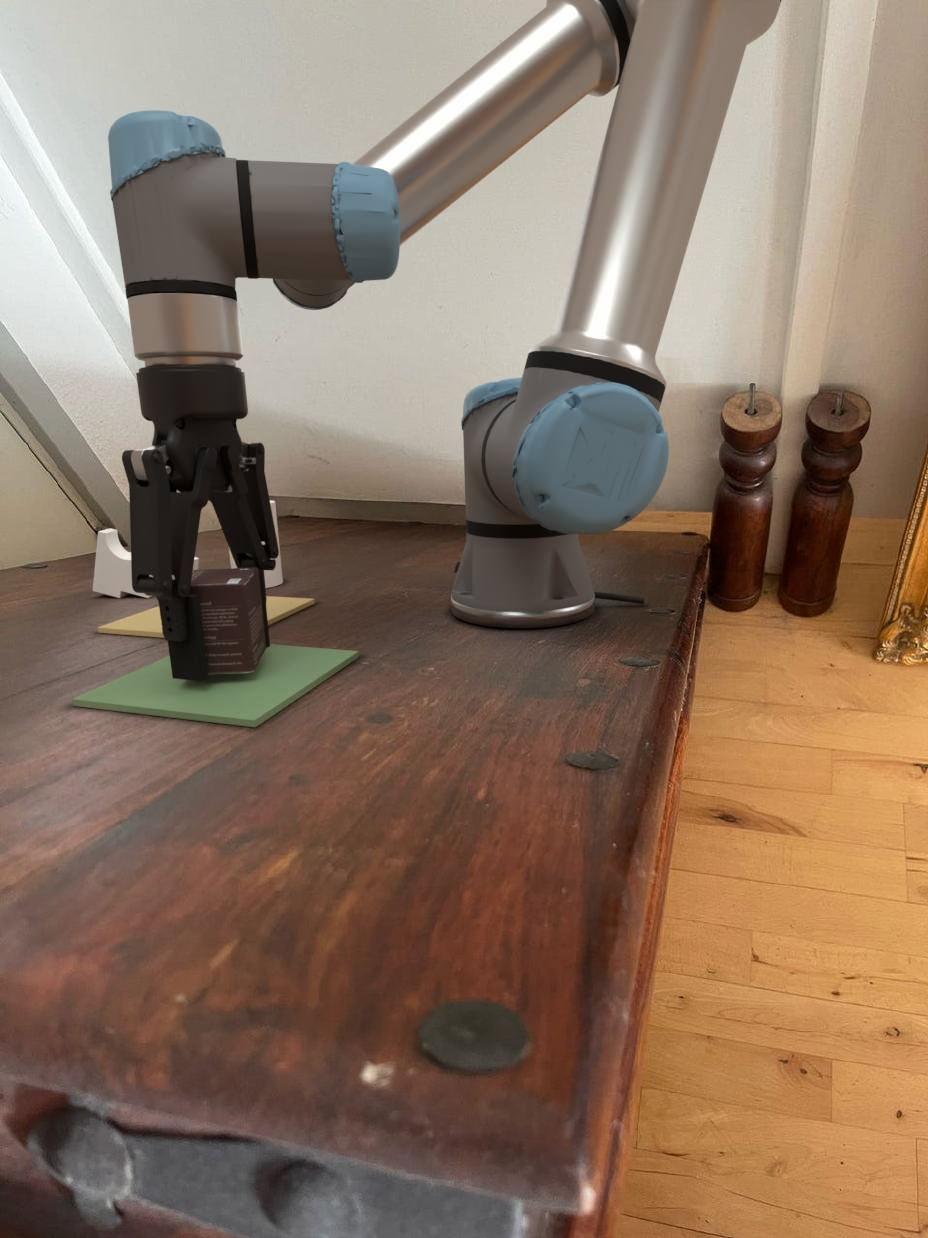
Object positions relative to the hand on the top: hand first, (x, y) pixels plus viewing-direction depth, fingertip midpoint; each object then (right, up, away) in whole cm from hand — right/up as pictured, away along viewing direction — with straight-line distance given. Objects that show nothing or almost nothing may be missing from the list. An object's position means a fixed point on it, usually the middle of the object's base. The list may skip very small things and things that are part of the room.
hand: (224, 660), depth 60 cm
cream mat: (-8, +4, +20) cm, 22 cm away
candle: (-7, +8, +37) cm, 38 cm away
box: (0, 0, 0) cm, 0 cm away
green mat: (0, -2, 0) cm, 2 cm away
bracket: (-21, +7, +37) cm, 43 cm away
